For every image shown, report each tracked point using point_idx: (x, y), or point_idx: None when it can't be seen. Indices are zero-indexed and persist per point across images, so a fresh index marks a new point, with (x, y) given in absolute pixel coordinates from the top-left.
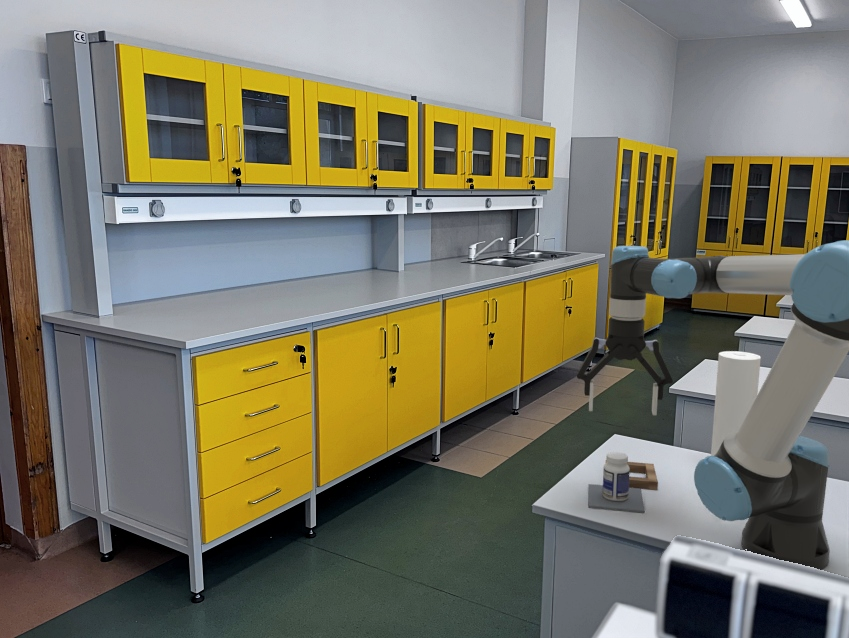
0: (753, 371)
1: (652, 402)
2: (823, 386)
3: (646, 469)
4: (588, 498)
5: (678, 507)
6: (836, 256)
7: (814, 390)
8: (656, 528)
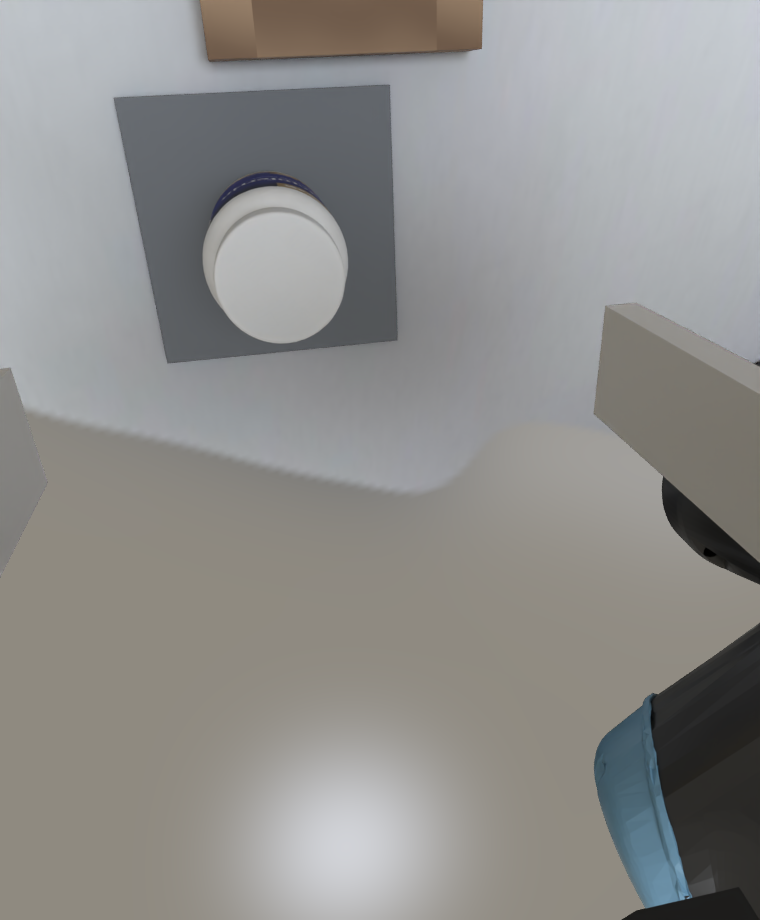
0: None
1: (653, 357)
2: None
3: None
4: (151, 280)
5: (532, 235)
6: None
7: None
8: (428, 443)
